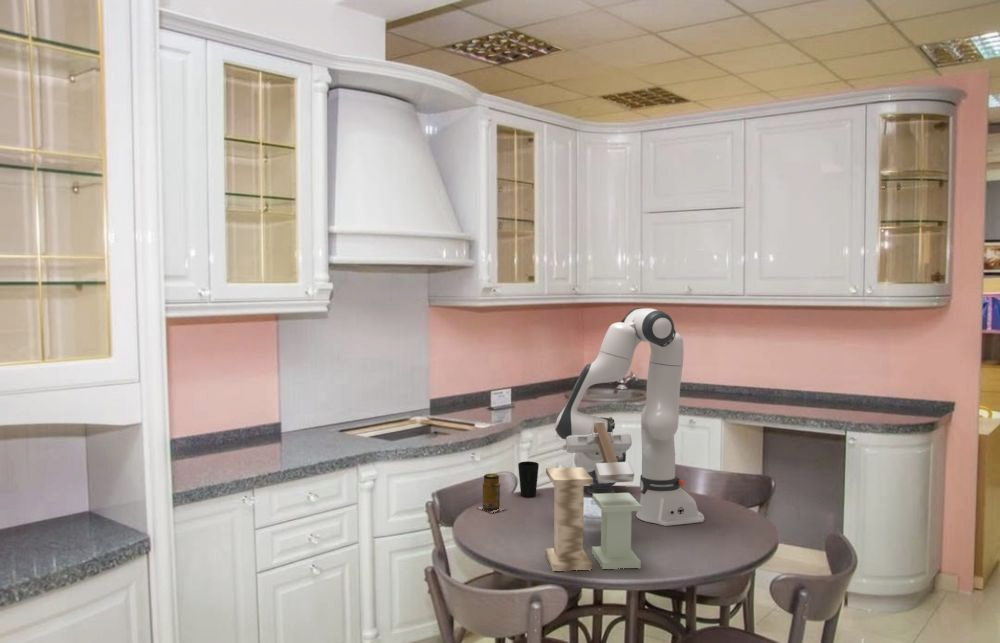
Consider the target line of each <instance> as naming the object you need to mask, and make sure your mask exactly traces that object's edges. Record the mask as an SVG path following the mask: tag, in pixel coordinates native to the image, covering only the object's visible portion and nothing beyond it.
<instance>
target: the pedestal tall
mask: <svg viewBox="0 0 1000 643" xmlns="http://www.w3.org/2000/svg"><path fill="white" fill-rule="evenodd" d="M545 474H546V476H547V477H548V479H549V480H550V482H551V483H552V485H553V486H554V489H553V492H554V494H553V496H554V498H553V499H554V501H553V502H554V504H553V506H554V509H553V513H554V515H553V516H554V517H553V518H554V519H553V520H554V521H553V524H554V525H553V526H554V527H553V547H548V548H545V557H546V559H548V560H547V562H548V561H549V562H548V564H549V563H550V564H549V567H550V569H551V570H552V572H553V571H564V572H573V571H572V570H576V571H575V572H578V571H577V570H589V571H592V570H593V563H592V561H591V560H590V558H589V555H588V554H587V553H586V551H585V549H584V485H589V484H593V478H592V477H591V476H590V475H589V474H588V473H587V472H586V470H585V469H584V468H583V467H547V468H545ZM591 569H592V570H591ZM570 570H571V571H570Z"/></svg>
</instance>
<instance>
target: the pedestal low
mask: <svg viewBox="0 0 1000 643" xmlns="http://www.w3.org/2000/svg"><path fill="white" fill-rule="evenodd" d="M592 500H593V501H594V503H595V504H596V505H597V507H598V508H599V509H600V511H601V514H600V515H601V519H600V520H601V525H600V528H601V529H600V530H601V532H600V535H601V536H600V539H601V540H600V545H599V546H591V555H592V556H593V555H594V556H593V557H594V559H595V558H596V559H595V561H596V560H597V561H598V562H597V561H596V562H597V564H598V563H599V564H600V565H599V564H598V565H599V567H600V566H601V567H602V568H601V567H600V568H601V570H602V569H614V570H621V569H620V568H623V569H622V570H625V569H624V568H638V569H641V568H642V566H641V565H642V564H641V563H642V561H641V560H640V558H639V557H638V556H637V554H635V552H634V551H633V550H632V512H637V511H642V506H641V505H640V504H639V503H640V502H639V501H637V499H636V498H634V496H633V495H632V494H631V493H630V492H615V493H602V494H593V495H592ZM618 568H619V569H618Z"/></svg>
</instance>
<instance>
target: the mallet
mask: <svg viewBox="0 0 1000 643" xmlns="http://www.w3.org/2000/svg"><path fill="white" fill-rule="evenodd" d="M593 431H594V433H598V439H597V443H598V446H599V449H600V452H601V455H602V458H603V461H604V463H596V466H595V474H596V477H597V480H598V483H615V482H616V483H630V482H631V483H633V482H634V479H635V471H634V469H633V466H632V464H631V461H625V462H618V461H617V458H616V455H615V452H614V449H613V447H612V444H611V441H610V438H609V435H608V432H607V430H606V427H605V424H604V423H594V430H593ZM616 483H615V484H616Z"/></svg>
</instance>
